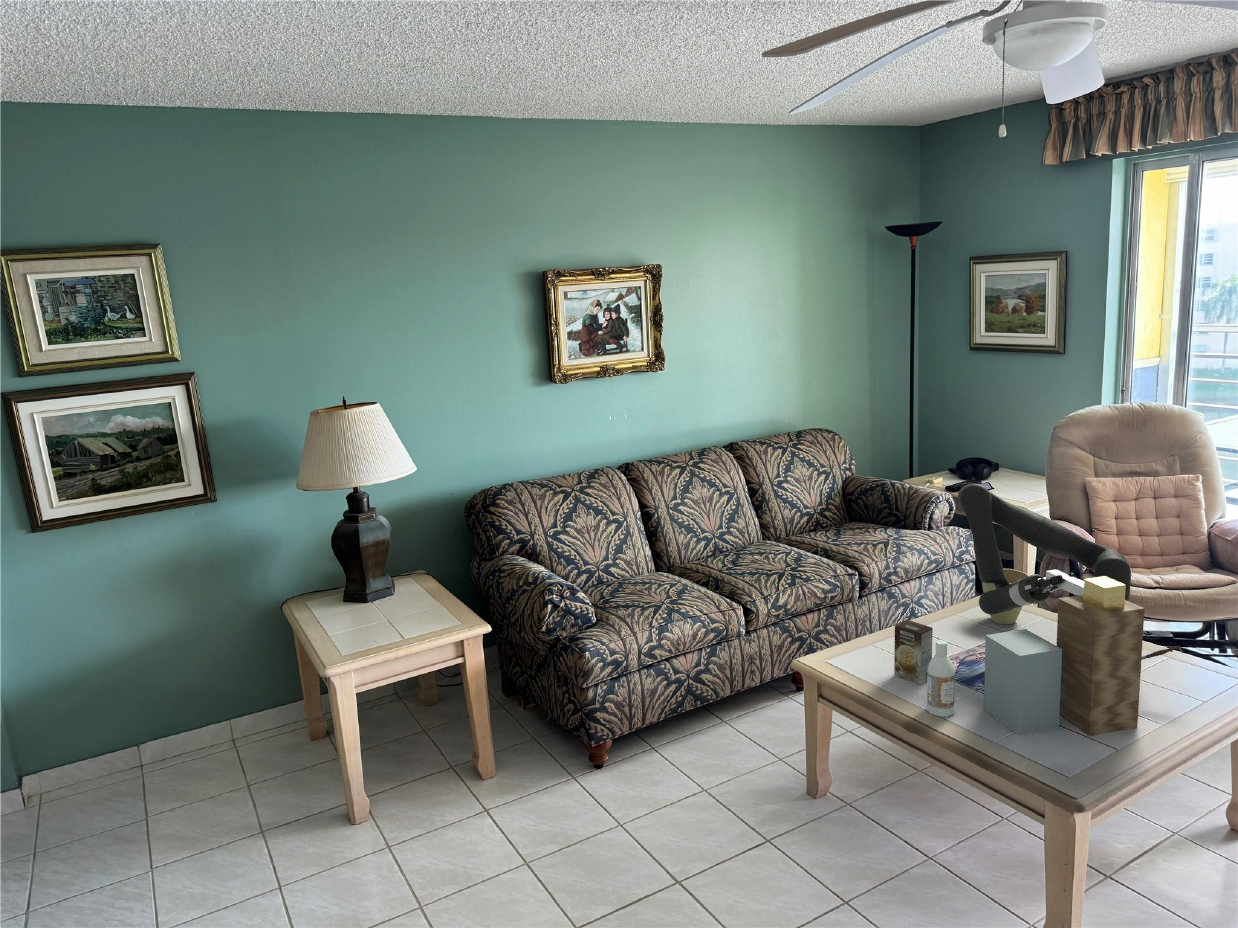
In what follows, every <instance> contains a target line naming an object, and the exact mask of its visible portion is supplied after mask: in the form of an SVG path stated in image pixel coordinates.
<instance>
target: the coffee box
mask: <svg viewBox="0 0 1238 928" xmlns="http://www.w3.org/2000/svg"><path fill="white" fill-rule="evenodd" d="M933 629H934V628H933V627H932V626H928V625H926V624H922V623H919V622H915V621H913V620H910V619H907V618H906V619H904V620H903V621H900V622H899V623H897V624H895V625H894V653H893V655H894V657H893V658H894V659H893V660H894V662H893V663H894V667H893V668H894V670H893V671H894V672H893V673H894V674H893V675H894V676H895V677H896V678H900V679H902V680H905V681H908V682H911V683H915V684H917V685H919V686H920V685H922V684H924V683H927V670H928V665H929V662H930V661H931V659H932V658H933Z"/></svg>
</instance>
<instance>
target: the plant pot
mask: <svg viewBox="0 0 1238 928" xmlns="http://www.w3.org/2000/svg"><path fill="white" fill-rule="evenodd" d="M1003 571H1004V574H1005V576H1006V578H1007V580H1008V582H1009V584H1012V583H1014V582H1016V581H1018V580H1020V579H1023V578H1025V577H1028V576H1030V575H1029V574H1028V573H1026V572H1023V571H1020V570H1018V569H1012V568H1003ZM981 585H982V586H981V587H982V591H983V593H984V592H987V591H991V590H995V589H996V587H995V585H994V584H993V583H984V582H982V581H981ZM1022 608H1023V606H1022V607H1018V608H1014V609H1012V610H1010V611H1007V612H1003V613H999V614H995V615H989V616H990V618H991V620H992V621H993V622H994V623H996V624H999V625H1013V624H1015V623H1016V622H1017V620H1018V618H1019V616H1020V613H1021V610H1022Z"/></svg>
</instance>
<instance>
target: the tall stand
mask: <svg viewBox="0 0 1238 928" xmlns="http://www.w3.org/2000/svg"><path fill="white" fill-rule="evenodd" d="M1057 603H1058V604H1057V622H1056V623H1057V627H1056V628H1057V629H1056V646H1057V647H1059V648H1061V649H1062V664H1061V688H1060V713H1059V718H1061V719H1063V720H1064V721H1066V722H1067V723H1069V724H1070V725H1072V726H1073V727H1075V728H1077V729H1078V730H1079V731H1081V732H1083V733H1084V734H1085V735H1087V737H1088V736H1089V737H1092V736H1097V735H1102V734H1110V733H1116V732H1121V731H1124V730H1130V729H1135V728H1138V726H1139V725H1138V722H1139V721H1138V720H1139V710H1140V709H1139V708H1140V707H1139V706H1140V705H1139V703H1140V693H1141V692H1140V690H1141V674H1142V672H1141V671H1142V660H1141V659H1142V656H1143V641H1144V640H1143V639H1144V627H1145V626H1144V623H1145V607H1142V606H1141V605H1138V604H1135V603H1134V602H1131V601H1130V600H1129V601H1126V600H1125V606H1124V608H1119V609H1113V610H1106V611H1102V610H1100V609H1098V608H1096V607H1094V606H1092V605H1089V604H1087V603H1085V602H1083V598H1081V597H1079V596H1077V595H1073V596H1066V597H1058V599H1057Z"/></svg>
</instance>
